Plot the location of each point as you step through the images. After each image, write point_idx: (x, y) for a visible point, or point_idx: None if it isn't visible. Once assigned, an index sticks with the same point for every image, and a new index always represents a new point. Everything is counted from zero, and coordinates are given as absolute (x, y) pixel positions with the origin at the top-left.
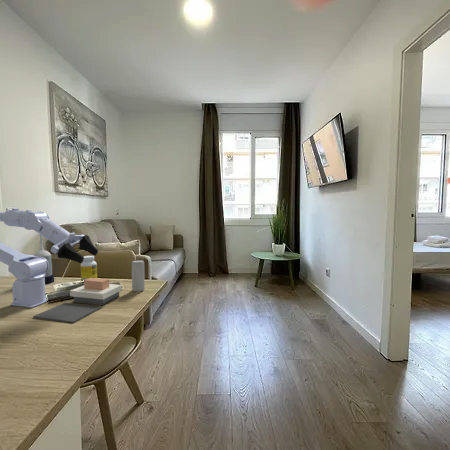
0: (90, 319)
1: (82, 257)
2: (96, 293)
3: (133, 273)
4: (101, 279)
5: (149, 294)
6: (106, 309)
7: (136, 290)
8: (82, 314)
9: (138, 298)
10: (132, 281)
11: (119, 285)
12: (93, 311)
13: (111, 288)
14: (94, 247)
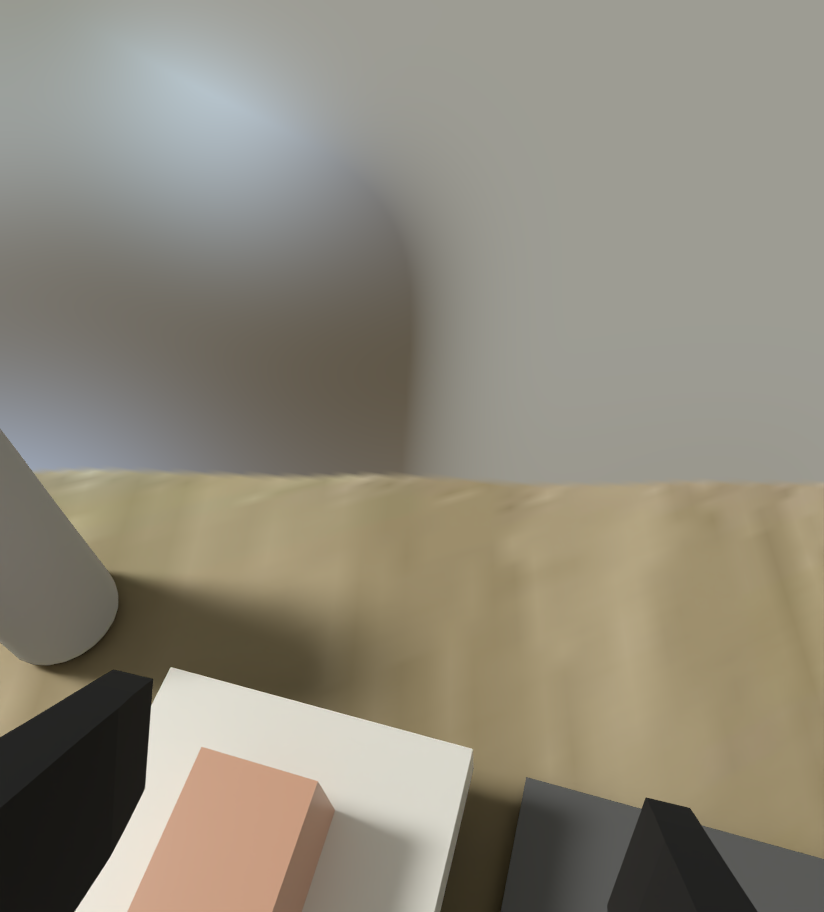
0: (780, 766)
1: (686, 819)
2: (451, 838)
3: (20, 547)
4: (191, 854)
5: (209, 503)
6: (550, 723)
7: (115, 610)
8: (739, 879)
9: (295, 555)
10: (44, 611)
11: (183, 686)
12: (638, 808)
13: (285, 732)
14: (66, 729)
